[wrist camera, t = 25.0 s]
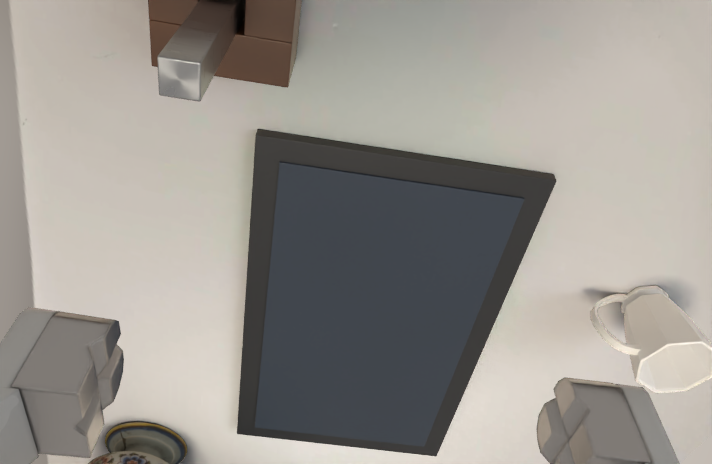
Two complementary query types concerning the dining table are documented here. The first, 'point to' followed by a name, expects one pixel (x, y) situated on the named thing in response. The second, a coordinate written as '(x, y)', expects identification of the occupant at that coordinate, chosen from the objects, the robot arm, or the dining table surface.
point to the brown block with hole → (240, 38)
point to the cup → (659, 341)
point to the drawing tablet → (373, 288)
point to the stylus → (198, 48)
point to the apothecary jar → (142, 445)
